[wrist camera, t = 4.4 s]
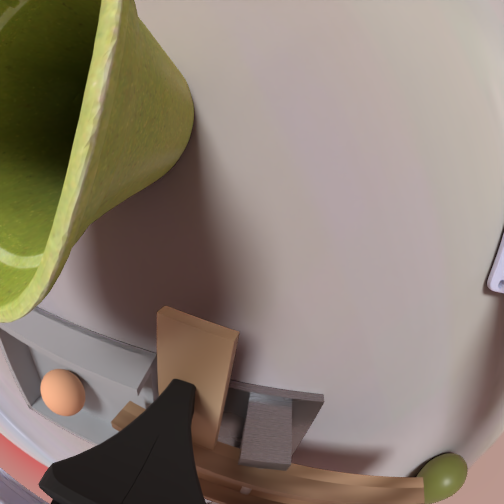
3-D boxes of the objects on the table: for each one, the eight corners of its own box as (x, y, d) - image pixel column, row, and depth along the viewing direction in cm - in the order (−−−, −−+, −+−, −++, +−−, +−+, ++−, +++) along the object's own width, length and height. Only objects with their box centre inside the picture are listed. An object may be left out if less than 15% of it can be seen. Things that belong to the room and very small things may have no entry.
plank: (507, 385, 7) (525, 422, 5) (378, 508, 12) (375, 534, 10) (118, 282, 11) (77, 308, 9) (139, 443, 16) (122, 466, 13)
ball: (89, 377, 15) (53, 404, 12) (98, 408, 16) (68, 433, 13) (60, 352, 16) (26, 373, 13) (70, 383, 17) (40, 404, 14)
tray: (157, 353, 15) (136, 389, 12) (162, 440, 18) (151, 468, 15) (15, 295, 15) (-11, 314, 12) (44, 388, 19) (28, 407, 16)
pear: (481, 481, 11) (432, 506, 16) (471, 439, 16) (427, 472, 21) (436, 500, 12) (391, 518, 17) (428, 453, 16) (388, 482, 21)
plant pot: (42, 187, 12) (-87, 234, 4) (96, 22, 9) (-27, -27, 1) (187, 255, 13) (71, 398, 4) (270, 52, 9) (243, -108, 1)
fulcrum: (323, 394, 15) (330, 462, 10) (283, 462, 18) (281, 511, 13) (220, 377, 15) (201, 446, 10) (208, 449, 18) (195, 499, 13)
